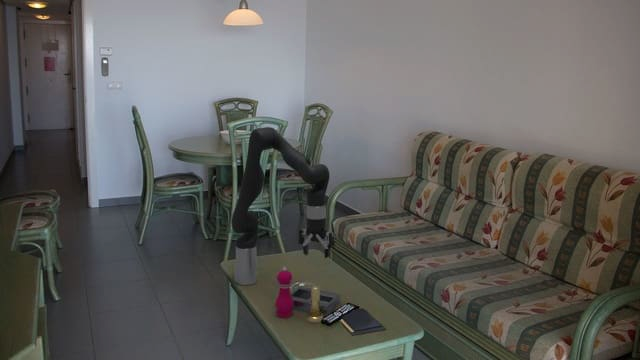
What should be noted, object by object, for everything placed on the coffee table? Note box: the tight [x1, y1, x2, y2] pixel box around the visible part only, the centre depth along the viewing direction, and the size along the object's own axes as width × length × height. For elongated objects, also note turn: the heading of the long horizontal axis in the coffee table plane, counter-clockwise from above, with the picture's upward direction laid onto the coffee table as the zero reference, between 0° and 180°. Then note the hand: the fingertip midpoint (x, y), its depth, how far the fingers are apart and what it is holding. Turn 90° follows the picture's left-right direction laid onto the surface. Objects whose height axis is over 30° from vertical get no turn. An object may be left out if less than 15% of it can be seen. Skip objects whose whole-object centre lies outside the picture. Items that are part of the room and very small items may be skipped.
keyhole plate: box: [290, 285, 341, 317], centre depth 234 cm, size 19×14×4 cm
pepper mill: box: [274, 266, 293, 319], centre depth 223 cm, size 7×7×20 cm
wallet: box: [340, 307, 387, 337], centre depth 220 cm, size 20×2×15 cm
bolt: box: [306, 284, 324, 324], centre depth 220 cm, size 6×6×14 cm
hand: (316, 256), depth 220 cm, fingers open, 8 cm apart
